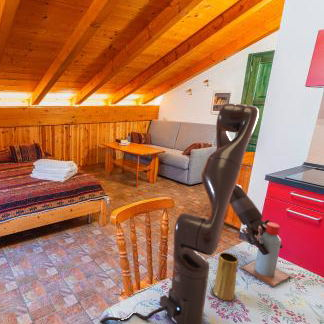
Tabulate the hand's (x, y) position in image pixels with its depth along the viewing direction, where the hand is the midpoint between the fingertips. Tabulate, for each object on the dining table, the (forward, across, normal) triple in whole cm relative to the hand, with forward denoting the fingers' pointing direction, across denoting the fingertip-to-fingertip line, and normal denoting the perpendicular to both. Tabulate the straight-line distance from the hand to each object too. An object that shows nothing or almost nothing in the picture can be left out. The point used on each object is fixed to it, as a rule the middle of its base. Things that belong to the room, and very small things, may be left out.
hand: (273, 251), depth 90 cm
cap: (-6, 0, -4) cm, 7 cm away
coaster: (+6, 0, +8) cm, 10 cm away
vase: (+6, -24, +8) cm, 26 cm away
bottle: (+6, 0, +8) cm, 10 cm away
